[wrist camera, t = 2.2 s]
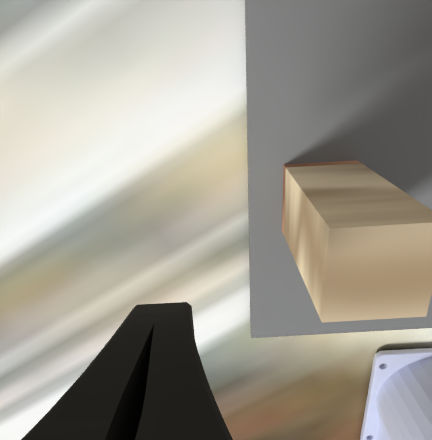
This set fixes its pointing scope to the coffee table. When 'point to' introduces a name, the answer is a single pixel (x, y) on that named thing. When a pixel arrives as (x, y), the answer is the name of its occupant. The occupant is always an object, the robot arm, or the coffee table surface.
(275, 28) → the mat
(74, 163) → the coffee table surface
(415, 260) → the maple block
